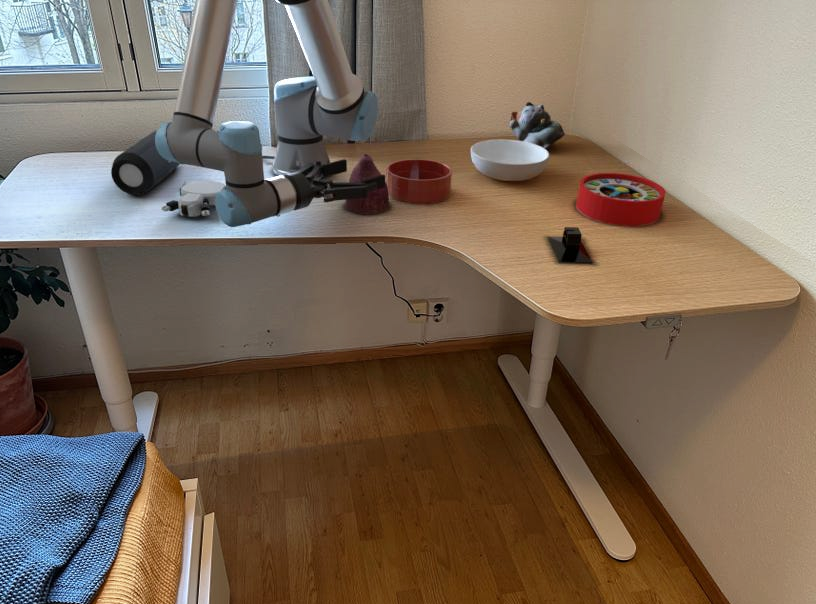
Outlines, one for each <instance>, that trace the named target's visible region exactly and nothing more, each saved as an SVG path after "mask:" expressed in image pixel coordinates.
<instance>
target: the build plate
mask: <svg viewBox="0 0 816 604" xmlns="http://www.w3.org/2000/svg"><path fill="white" fill-rule="evenodd" d="M582 237H583V233H582V232H581V230H580V228H579V227H576V226H575V227H574V226H564V229H563V231H562V236H548V238H547V239H548V241H549V243H550V246H551V248H552V251H553V252H554V255H555V258H556V260H557V263H558V264H585V265H586V264H587V265H592V264H593V263H594V262H593V260H592V258H591V256H590V254H589V253H588V250H587V248H586V247H585V245H584V242H583V240H582Z"/></svg>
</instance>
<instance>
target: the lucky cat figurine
mask: <svg viewBox="0 0 816 604" xmlns="http://www.w3.org/2000/svg"><path fill="white" fill-rule="evenodd" d="M510 114H511V116H510V122H509V128H510V129H511V132H512V133H513V134H514V135H515V137H516V138H517V139H518V141H523V142H528V143H532V144H535V145H538V146H540V147H542V148H544V149H546V150H547V149H548V148H549V147H550V146H552V144H554V143H556V142H557V141H559V140H561V139H562V138H564V136H565V135H566V133H565V131H564V129H563V126H562V125H561V123H559V122H558V121H555V120H551V119H552V117H551V115H550V114H549V112H548V111H547V110H546V109H545V106H544V104H541V103H539V105H537V106H536V105H534V104H533V103H532V102H530V101H528V102H526V104H525V106H523V107H522V108H521V109H520V110H519V111H511V112H510Z"/></svg>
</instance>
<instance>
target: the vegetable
mask: <svg viewBox="0 0 816 604" xmlns="http://www.w3.org/2000/svg"><path fill="white" fill-rule="evenodd" d="M379 175H382V173H381V171H380V170H379V169H378V167H377V166H376V164H375V162H374V160H373V158H372V157H371V156H370V155H369V154H368V153H366V152H364V155H362V157H360V160H359V161H358V162H357V164H356V165H355V167H354V168H353V170H352V172H351V174H350V177H349V180H348V182H353V183H361V180H365V179H369V178H372V177H376V176H379ZM344 202H345V203H344V205H345V206H344V207H345V209H346V210H347V211H349V212H352V213H356V214H359V215H364V216H365V215H375V214H381V213H383V212H385V211H387V210H388V209H389V208H390V195H389V194H388V187H387V184H386V181H385V187H384V188H381V189H377V190H374V191H370V192H368V198H364V199H350V200H344Z"/></svg>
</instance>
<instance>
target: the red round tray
mask: <svg viewBox="0 0 816 604" xmlns="http://www.w3.org/2000/svg"><path fill="white" fill-rule="evenodd" d="M452 178H453V170H452V168H451V166H449V165H447V164H446V163H443V162H440V161H437V160H431V159H424V158H423V159H422V158H409V159H407V158H406V159H401V160H397V161H393V162H391V163H389V164H388V165H387V167H386V174H385V182H386V184H387V187H388V194H389V197H391V198H392V199H394V200H396V201H399V202H403V203H406V204H415V205H416V204H417V205H427V204H435V203H439V202H443V201H444V200H446V199H447V198H449V196H450V195H451V191H452Z"/></svg>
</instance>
